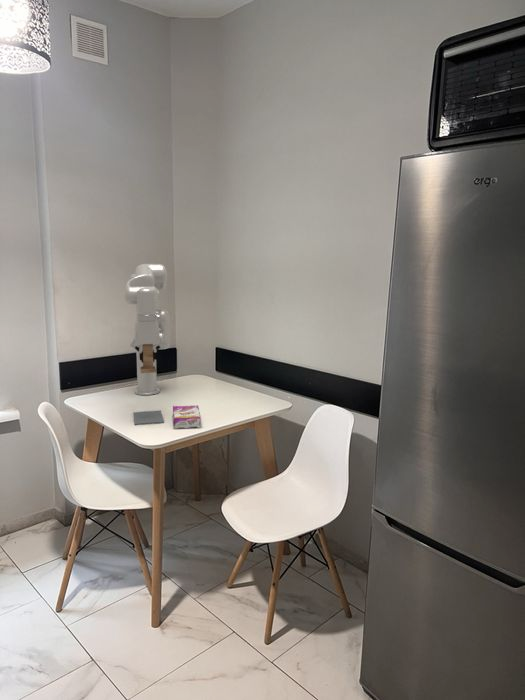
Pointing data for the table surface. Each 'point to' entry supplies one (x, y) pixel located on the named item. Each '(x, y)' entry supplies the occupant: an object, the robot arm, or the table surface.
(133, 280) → the robot arm
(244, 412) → the table surface
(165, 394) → the table surface
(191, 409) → the candy bar box
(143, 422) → the mat
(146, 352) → the stepped wooden block
